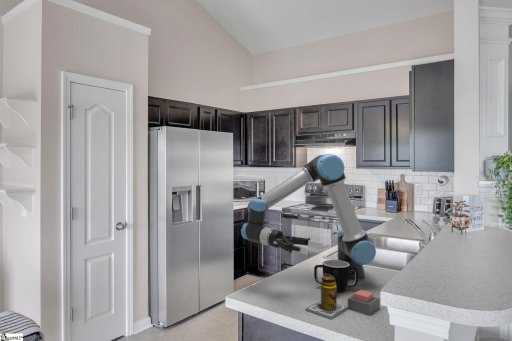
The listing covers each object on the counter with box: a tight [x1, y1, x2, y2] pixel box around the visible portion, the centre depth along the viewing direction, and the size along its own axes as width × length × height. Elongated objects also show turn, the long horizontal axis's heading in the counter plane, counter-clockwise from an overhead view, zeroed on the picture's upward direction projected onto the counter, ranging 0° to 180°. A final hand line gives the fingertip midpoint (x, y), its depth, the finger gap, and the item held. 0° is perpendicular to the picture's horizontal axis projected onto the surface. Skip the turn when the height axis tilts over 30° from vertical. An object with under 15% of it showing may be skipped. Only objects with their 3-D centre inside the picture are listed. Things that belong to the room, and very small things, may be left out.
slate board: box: [305, 300, 349, 320], centre depth 135 cm, size 13×12×1 cm
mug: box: [313, 259, 359, 293], centre depth 157 cm, size 16×16×12 cm
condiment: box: [314, 276, 338, 312], centre depth 135 cm, size 7×8×12 cm
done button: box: [353, 289, 374, 303], centre depth 136 cm, size 5×5×3 cm
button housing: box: [347, 295, 381, 316], centre depth 136 cm, size 9×9×4 cm
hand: (315, 248), depth 141 cm, fingers open, 13 cm apart
